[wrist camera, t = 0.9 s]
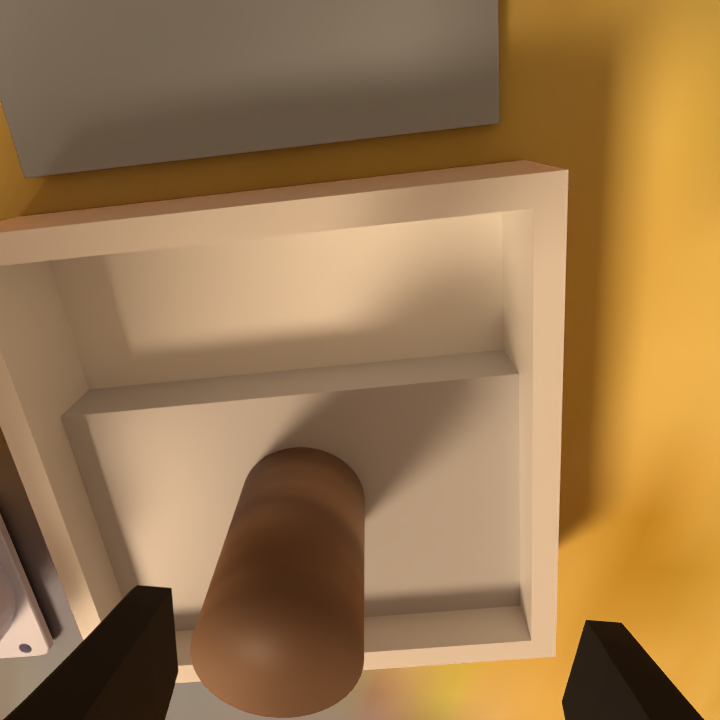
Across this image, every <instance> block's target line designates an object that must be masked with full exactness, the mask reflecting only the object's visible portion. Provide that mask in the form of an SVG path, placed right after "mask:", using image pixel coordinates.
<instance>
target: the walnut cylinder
mask: <svg viewBox="0 0 720 720" xmlns="http://www.w3.org/2000/svg"><path fill="white" fill-rule="evenodd" d="M364 552H365V498H364V491H363V487H362V485H361V482H360V480H359V478H358V476H357V475H356V474H355V472H354V471H353V470H352V469H351V468H350V467H349V465H348V464H346V463H345V462H344V461H343V460H341V459H340V458H338V457H336V456H335V455H332V454H330V453H328V452H325V451H322V450H319V449H314V448H306V447H294V448H287V449H283V450H279V451H276V452H274V453H272V454H270V455H268V456H266V457H264V458H263V459H262V460H260V461H259V462H258V463H257V464H256V465H255V466H254V467H253V468H252V469H251V471H250V472H249V474H248V475H247V477H246V479H245V482H244V485H243V488H242V491H241V494H240V497H239V500H238V503H237V506H236V509H235V512H234V515H233V518H232V521H231V524H230V526H229V529H228V532H227V535H226V538H225V541H224V544H223V547H222V550H221V553H220V556H219V559H218V562H217V565H216V568H215V571H214V574H213V577H212V579H211V582H210V585H209V588H208V591H207V594H206V597H205V600H204V603H203V606H202V609H201V612H200V615H199V618H198V621H197V624H196V627H195V630H194V632H193V635H192V638H191V644H190V656H191V661H192V665H193V667H194V670H195V672H196V674H197V676H198V677H199V679H200V680H201V682H202V683H203V684H204V686H205V687H206V688H207V689H208V690H209V691H210V692H211V693H212V694H214V695H215V696H216V697H218V698H219V699H220V700H222V701H224V702H225V703H227V704H229V705H231V706H233V707H235V708H237V709H239V710H242V711H245V712H248V713H252V714H256V715H260V716H266V717H277V718H291V717H299V716H305V715H310V714H313V713H316V712H320V711H322V710H324V709H327V708H329V707H331V706H333V705H334V704H336V703H338V702H339V701H340V700H342V699H343V698H344V697H346V696H347V695H348V694H349V693H350V692H351V691H352V689H353V688H354V687H355V685H356V684H357V682H358V680H359V678H360V676H361V673H362V670H363V665H364Z"/></svg>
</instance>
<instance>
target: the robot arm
mask: <svg viewBox="0 0 720 720" xmlns="http://www.w3.org/2000/svg"><path fill="white" fill-rule="evenodd" d="M52 645H53V639H52V637H51V634H50V632H49V629H48V627H47V625H46V622H45V620H44V617H43V615H42V613H41V610H40V608H39V605H38V603H37V601H36V598H35V596H34V593H33V591H32V589H31V586H30V584H29V581H28V579H27V576H26V574H25V572H24V569H23V567H22V564H21V562H20V560H19V557H18V555H17V552H16V550H15V548H14V545H13V543H12V540H11V538H10V536H9V533H8V531H7V528H6V526H5V524H4V521H3V519H2V516H1V514H0V658H11V657H24V656H38V655H44V654H46V653H48V652H49V650H50V649H51V647H52ZM177 675H178V660H177V647H176V635H175V623H174V611H173V599H172V588H168V587H155V586H142V585H136V586H135V587H134V588H133V589H131V590H130V591H129V592H128V593H127V595H126V596H125V597H124V598H123V599H122V600H121V601H120V602H119V603H118V604H117V605H116V606H115V608H114V609H113V610H112V611H111V612H110V613H109V614H108V615H107V616H106V617H105V618H104V619H103V620H102V621H101V623H100V624H99V625H98V626H97V627H96V628H95V629H94V630H93V631H92V632H91V633H90V634H89V635H88V636H87V637H86V638H85V639H84V640H83V642H82V643H81V644H80V645H79V646H78V647H77V648H76V649H75V650H74V651H73V652H72V653H71V654H70V655H69V656H68V657H67V658H66V659H65V660H64V661H63V662H62V663H61V664H60V665H59V666H58V667H57V668H56V669H55V670H54V671H53V672H52V673H51V674H50V675H49V676H48V677H47V678H46V679H45V680H44V681H43V682H42V683H41V684H40V685H39V686H38V687H37V688H36V689H35V690H34V691H33V692H32V693H31V694H30V695H29V696H28V697H27V698H26V699H25V700H24V701H23V702H22V703H21V704H20V705H19V706H18V707H16V708H15V709H14V710H13V711H12V712H11V713H10V714H9V715H8V716H7V717H6V718H5V719H3V720H165V717H166V714H167V710H168V707H169V703H170V700H171V696H172V693H173V689H174V686H175V682H176V678H177ZM562 705H563V710H564V715H565V720H704V719H703V718H702V717H701V716H700V714H699V713H698V712H697V711H696V710H695V709H694V708H693V706H692V705H691V704H690V703H689V702H688V701H687V699H686V698H685V697H684V696H683V695H682V694H681V692H680V691H679V690H678V689H677V688H676V687H675V685H674V684H673V683H672V682H671V681H670V680H669V678H668V677H667V676H666V675H665V674H664V672H663V671H662V670H661V669H660V668H659V667H658V665H657V664H656V663H655V662H654V661H653V659H652V658H651V657H650V656H649V655H648V654H647V652H646V651H645V650H644V649H643V648H642V646H641V645H640V644H639V643H638V642H637V640H636V639H635V638H634V637H633V636H632V635H631V633H630V632H629V631H628V630H627V629H626V628H625V626H624V625H623V624H622V623H618V622H605V621H592V620H586V622H585V625H584V628H583V632H582V635H581V639H580V642H579V645H578V649H577V652H576V656H575V659H574V662H573V666H572V669H571V672H570V676H569V679H568V683H567V686H566V689H565V693H564V696H563V700H562Z"/></svg>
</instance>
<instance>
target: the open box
mask: <svg viewBox="0 0 720 720" xmlns="http://www.w3.org/2000/svg"><path fill="white" fill-rule="evenodd" d="M568 171H569V170H568V169H563V168H559V167H554V166H550V165H545V164H541V163H537V162H532V161H528V160H519V161H510V162H501V163H492V164H484V165H475V166H466V167H457V168H448V169H439V170H430V171H421V172H412V173H403V174H394V175H385V176H376V177H368V178H359V179H350V180H341V181H332V182H323V183H314V184H305V185H296V186H287V187H278V188H269V189H260V190H252V191H243V192H234V193H225V194H216V195H207V196H198V197H189V198H180V199H171V200H162V201H153V202H144V203H136V204H127V205H118V206H109V207H100V208H91V209H82V210H73V211H64V212H55V213H46V214H37V215H28V216H20V217H15V218H11V219H8V220H4V221H0V427H1V429H2V432H3V435H4V437H5V440H6V442H7V445H8V447H9V450H10V452H11V455H12V458H13V460H14V463H15V465H16V468H17V470H18V473H19V476H20V478H21V481H22V483H23V486H24V488H25V491H26V494H27V496H28V499H29V501H30V504H31V506H32V509H33V512H34V514H35V517H36V519H37V522H38V524H39V527H40V530H41V532H42V535H43V537H44V540H45V542H46V545H47V548H48V550H49V553H50V555H51V558H52V560H53V563H54V566H55V568H56V571H57V573H58V576H59V578H60V581H61V584H62V586H63V589H64V591H65V594H66V596H67V599H68V602H69V604H70V607H71V609H72V612H73V614H74V617H75V620H76V622H77V625H78V627H79V630H80V632H81V635H82V638H83V640H84V639H85V638H86V637H87V636H88V635H89V634H90V633H91V632H92V631H93V630H94V629H95V628H96V627H97V626H98V625H99V624H100V623H101V621H102V620H103V619H104V618H105V617H106V616H107V615H108V614H109V613H110V612H111V611H112V610H113V609H114V608H115V606H116V605H117V604H118V603H119V602H120V601H121V600H122V599H123V598H124V597H125V596H126V595H127V593H128V592H129V591H130V590H131V589H133V588H134V587H135V586H136V585H142V586H155V587H168V588H172V599H173V611H174V623H175V635H176V647H177V660H178V675H177V678H176V682H175V683H184V682H199V681H201V680H200V679H199V677H198V676H197V674H196V672H195V670H194V667H193V665H192V661H191V656H190V644H191V638H192V635H193V632H194V630H195V627H196V624H197V621H198V618H199V615H200V612H201V609H202V606H203V603H204V600H205V597H206V594H207V591H208V588H209V585H210V582H211V579H212V577H213V574H214V571H215V568H216V565H217V562H218V559H219V556H220V553H221V550H222V547H223V544H224V541H225V538H226V535H227V532H228V529H229V526H230V524H231V521H232V518H233V515H234V512H235V509H236V506H237V503H238V500H239V497H240V494H241V491H242V488H243V485H244V482H245V479H246V477H247V475H248V474H249V472H250V471H251V469H252V468H253V467H254V466H255V465H256V464H257V463H258V462H259V461H260V460H262V459H263V458H264V457H266V456H268V455H270V454H272V453H274V452H276V451H279V450H283V449H287V448H294V447H306V448H314V449H319V450H322V451H325V452H328V453H330V454H332V455H335V456H336V457H338V458H340V459H341V460H343V461H344V462H345V463H346V464H348V465H349V467H350V468H351V469H352V470H353V471H354V472H355V474H356V475H357V476H358V478H359V480H360V482H361V485H362V487H363V491H364V498H365V552H364V665H363V670H370V669H385V668H399V667H413V666H428V665H442V664H456V663H471V662H485V661H499V660H514V659H528V658H542V657H555V652H556V615H557V578H558V541H559V504H560V467H561V430H562V393H563V356H564V319H565V282H566V245H567V208H568Z"/></svg>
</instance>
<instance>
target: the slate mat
mask: <svg viewBox="0 0 720 720" xmlns="http://www.w3.org/2000/svg"><path fill="white" fill-rule="evenodd" d="M0 100H1V104H2V107H3V110H4V113H5V116H6V120H7V123H8V126H9V129H10V132H11V135H12V139H13V142H14V145H15V148H16V151H17V155H18V158H19V161H20V164H21V167H22V171H23V174H24V177H25V178H30V177H38V176H47V175H56V174H64V173H73V172H82V171H90V170H99V169H108V168H116V167H125V166H134V165H142V164H151V163H160V162H168V161H177V160H186V159H194V158H203V157H212V156H220V155H229V154H238V153H246V152H255V151H264V150H272V149H281V148H290V147H298V146H307V145H316V144H324V143H333V142H342V141H350V140H359V139H368V138H376V137H385V136H394V135H402V134H411V133H420V132H428V131H437V130H446V129H454V128H463V127H472V126H480V125H489V124H498V123H500V90H499V24H498V0H0Z"/></svg>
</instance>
